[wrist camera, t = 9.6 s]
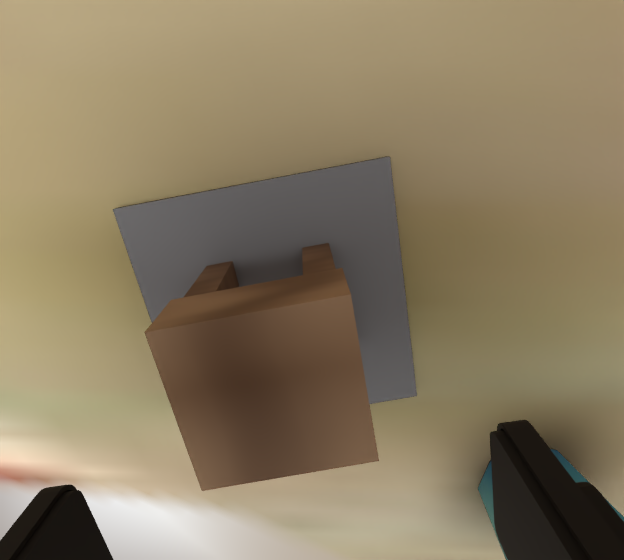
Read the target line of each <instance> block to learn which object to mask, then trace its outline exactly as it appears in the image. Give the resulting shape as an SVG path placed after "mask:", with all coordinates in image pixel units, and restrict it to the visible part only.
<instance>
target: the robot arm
mask: <svg viewBox="0 0 624 560" xmlns="http://www.w3.org/2000/svg"><path fill="white" fill-rule="evenodd" d="M490 447H491V467H492V488H493V508H494V524H495V530H496V533H497V536H498V539H499V542H500V544H501V546H502V548H503V551H504V553H505V555H506V557H507V559H508V560H624V521H623V520H622V519H621V518H620V517H619V515H618V514H617V513H616V512H615V510H614V509H613V508H612V507H611V506H610V504H609V503H608V502H607V501H606V499H605V498H604V497H603V496H602V494H601V493H600V492H599V491H598V490H597V489H596V488H595V487H594V486H593V485H591V484H590V483H588V482H577V483H576V482H575V481H574V480H573V478H572V477H571V476H570V474H569V473H568V472H567V471H566V469H565V468H564V467H563V465H562V464H561V463H560V461H559V460H558V459H557V457H556V456H555V455H554V454H553V452H552V451H551V450H550V448H549V447H548V446H547V444H546V443H545V442H544V441H543V439H542V438H541V437H540V435H539V434H538V433H537V431H536V430H535V429H534V427H533V426H532V425H531V424H530V423H529V422H528V421H527V420H519V421H512V422H505V423H499V424H498V426H497V431H493V432H491V433H490ZM0 560H113V558H112V556H111V554H110V552H109V549H108V547H107V545H106V543H105V541H104V539H103V537H102V534H101V533H100V530H99V528H98V526H97V524H96V522H95V519H94V517H93V515H92V513H91V511H90V509H89V507H88V505H87V502H86V500H85V498H84V496H83V494H82V493H81V491H79V490H77V489H76V488H75V487H74V486H73V485H62V486H55V487H48V488H44V489H42V490H41V491H40V492H39V493H38V494H37V495H36V496H35V498H34V499H33V500H32V501H31V503H30V504H29V505H28V506H27V508H26V509H25V510H24V512H23V513H22V514H21V515H20V517H19V518H18V519H17V520H16V522H15V523H14V524H13V525H12V527H11V528H10V529H9V531H8V532H7V533H6V535H5V536H4V537H3V538H2V539H1V541H0Z"/></svg>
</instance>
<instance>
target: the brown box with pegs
mask: <svg viewBox="0 0 624 560" xmlns="http://www.w3.org/2000/svg"><path fill="white" fill-rule="evenodd" d="M302 261H303V275H301V276H296V277H290V278H285V279H280V280H274V281H269V282H264V283H258V284H253V285H248V286H242V287H239V283H238V280H237V276H236V272H235V268H234V265H233V261H230V262H225V263H219V264H214V265H209V266H206V267H205V269H204V270H203V271H202V273H201V274H200V276H199V277H198V278H197V280H196V281H195V282H194V284H193V285H192V286H191V288H190V289H189V290H188V292H187V293H186V294H185V296H184V297H183V298H178V299H173V300H170V302H169V303H168V304H167V305H166V307H165V308H164V309H163V310H162V312H161V313H160V314H159V315H158V317H157V318H156V319H155V320H154V321H153V323H152V324H151V325H150V326H149V328H148V329H147V330H146V331H145V335H146V338H147V341H148V343H149V346H150V349H151V352H152V354H153V357H154V360H155V363H156V365H157V368H158V371H159V374H160V376H161V379H162V382H163V385H164V388H165V390H166V393H167V396H168V399H169V401H170V404H171V407H172V410H173V412H174V415H175V418H176V421H177V423H178V426H179V429H180V432H181V434H182V437H183V440H184V443H185V446H186V448H187V451H188V454H189V457H190V459H191V462H192V465H193V468H194V470H195V473H196V476H197V479H198V481H199V484H200V487H201V490H202V491H204V490H210V489H216V488H222V487H228V486H233V485H239V484H245V483H251V482H257V481H263V480H269V479H275V478H280V477H286V476H292V475H298V474H304V473H310V472H316V471H322V470H327V469H333V468H339V467H345V466H351V465H357V464H363V463H369V462H374V461H379V459H378V453H377V447H376V441H375V435H374V429H373V423H372V417H371V411H370V405H369V399H368V393H367V387H366V381H365V375H364V369H363V363H362V357H361V351H360V345H359V340H358V334H357V328H356V322H355V316H354V310H353V304H352V298H351V293H350V290H349V287H348V284H347V281H346V278H345V275H344V272H343V269H342V268H338V269H336V268H335V264H334V260H333V257H332V253H331V250H330V246H329V243H325V244H319V245H314V246H309V247H304V248H302Z"/></svg>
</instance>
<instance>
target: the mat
mask: <svg viewBox="0 0 624 560" xmlns="http://www.w3.org/2000/svg"><path fill="white" fill-rule="evenodd" d="M113 212H114V214H115V217H116V220H117V223H118V226H119V229H120V232H121V235H122V238H123V240H124V243H125V246H126V249H127V252H128V255H129V258H130V261H131V264H132V267H133V269H134V272H135V275H136V278H137V281H138V284H139V287H140V290H141V293H142V296H143V298H144V301H145V304H146V307H147V310H148V313H149V316H150V319H151V322H152V323H153V321H154V320H155V319H156V318H157V317H158V315H159V314H160V313H161V312H162V310H163V309H164V308H165V307H166V305H167V304H168V303H169V302H170V300H173V299H178V298H183V297H184V296H185V294H186V293H187V292H188V290H189V289H190V288H191V286H192V285H193V284H194V282H195V281H196V280H197V278H198V277H199V276H200V274H201V273H202V271H203V270H204V269H205V267H206V266H209V265H214V264H219V263H225V262H230V261H233V265H234V268H235V272H236V276H237V280H238V283H239V287H242V286H248V285H253V284H258V283H264V282H269V281H274V280H280V279H285V278H290V277H296V276H301V275H303V261H302V248H304V247H309V246H314V245H319V244H325V243H329V246H330V250H331V253H332V257H333V260H334V264H335V268H336V269H338V268H342V269H343V272H344V275H345V278H346V281H347V284H348V287H349V290H350V293H351V298H352V304H353V310H354V316H355V322H356V328H357V334H358V340H359V345H360V351H361V357H362V363H363V369H364V375H365V381H366V387H367V393H368V399H369V404H372V403H378V402H384V401H390V400H396V399H402V398H408V397H414V396H417V392H416V383H415V374H414V365H413V357H412V348H411V339H410V330H409V321H408V312H407V303H406V295H405V286H404V277H403V268H402V259H401V250H400V241H399V233H398V224H397V215H396V206H395V197H394V188H393V179H392V170H391V162H390V157H383V158H377V159H372V160H367V161H362V162H356V163H351V164H346V165H341V166H335V167H330V168H325V169H319V170H314V171H309V172H304V173H298V174H293V175H288V176H283V177H277V178H272V179H267V180H262V181H256V182H251V183H246V184H241V185H235V186H230V187H225V188H220V189H214V190H209V191H204V192H199V193H193V194H188V195H183V196H177V197H172V198H167V199H162V200H156V201H151V202H146V203H141V204H135V205H130V206H125V207H120V208H116V209H113Z"/></svg>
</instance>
